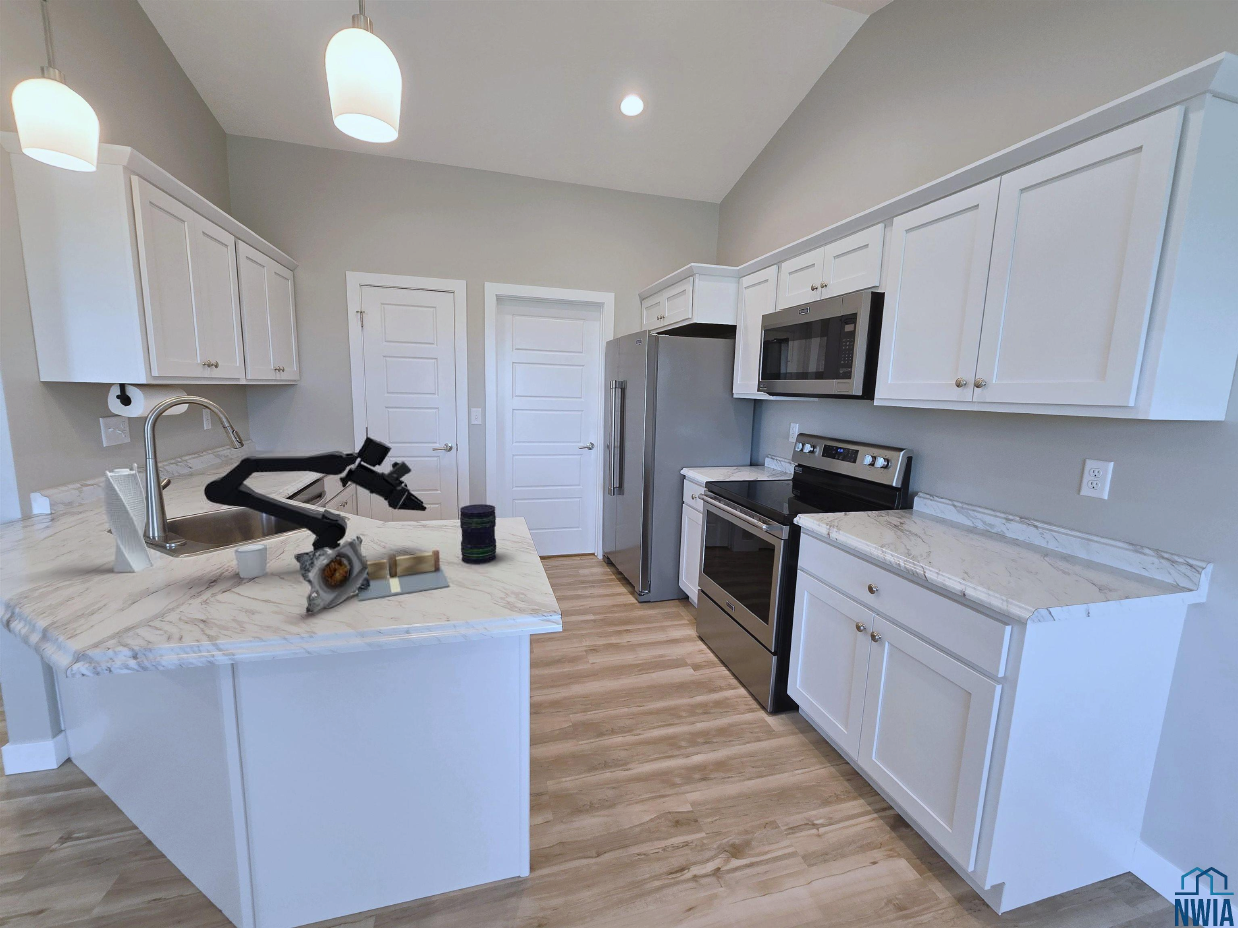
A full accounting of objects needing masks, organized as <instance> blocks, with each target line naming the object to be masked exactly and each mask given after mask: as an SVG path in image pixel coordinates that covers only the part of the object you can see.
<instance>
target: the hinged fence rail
mask: <svg viewBox="0 0 1238 928" xmlns="http://www.w3.org/2000/svg"><path fill="white" fill-rule="evenodd" d="M387 557H388V559H387V560H388V569H389V576H390V577H394V576H400V575H407V574H414V573H421V572H428V571H437V570H440V566H441V565H440V563H441V562H440V550H437V549H436V550H432V551H431V552H429V553H419V554H412V555H404V556H397V554H395V553H391V554H389V555H387Z"/></svg>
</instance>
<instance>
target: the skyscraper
mask: <svg viewBox="0 0 1238 928" xmlns="http://www.w3.org/2000/svg"><path fill="white" fill-rule="evenodd" d="M132 465H133V467H132V468H133V470H130V468H118V469H113V472H110V471H108V470H105V474H104V487H103V488H104V490H103V499H104V500H103V501H104V502H103V503H104V510H105V515H106V519H107V523H108V526H109V528H110V530H111V533H112V536H113V537H114V540H115V543H116V544H115V553H114V563H113V573H137V572H139V571H141V570H142V571H143V570H145V569H147V568H149V567H153V566H154V562H153V560H152V557H151V555H150V552H149V549H148V547H147V545H146V542H145V539H144V532H145V527H146V522H147V520H146V519H147V502H146V497H145V496H146V495H145V492H144V489H143V488H144V487H143V486H142V482H141V479H140V476H139V473H138V465H137V463H133V464H132Z"/></svg>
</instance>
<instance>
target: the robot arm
mask: <svg viewBox="0 0 1238 928" xmlns="http://www.w3.org/2000/svg"><path fill="white" fill-rule="evenodd" d="M391 450H392V447H391V446H390V445H388V444H386V443H384V442H383V441H381V440H377V439H375V438H372V437H371V436H366V437H365V439H364V441H363V444H362V445H361V447H360V449H359V450H358V451H357V452H347V453H344V452H343V451H340V450H333V451H327V452H321V453H316V454H311V455H287V456H286V455H282V456H281V455H279V456H278V455H277V456H276V455H275V456H273V455H272V456H270V455H269V456H256V455H249V456H246V457H244V458H243V459H241V460H240V461H239V462H238V463H237V464H236V466H234V467H232V468H231V470H230V471H228V472H227V473H226V474H224V475H222V476H219V477H217V478H215V479H214V480H212V481H210V482H208V483H207V484H206V485H205V487H204V490H203V493H204V496H205V499H206V500H208V501H209V502H211V503H212V504H216V505H223V506H228V507H235V508H236V507H238V508H246V509H249V510H253V511H255V512H258V513H260V514H263V515H267V516H270V517H272V518H275V519H278V520H281V521H284V522H286V523H290V524H292V525H296V526H299V527H302V528H303V529H306V530H308V531H309V532H311V534H313V535H314V539H313V541H312V544H311V546H312V547H313V548H312V551H316V550H319V549H322V548H331V549H336V548H337V547H339V546H341V545H342V544H341V542H340V541H342V540H343V539H344V538H345V536H346V533H347V529H348V522H347V521H346V519H345V518H343V517H342V516H341V513H336V512H332V511H330V510H329V509H326V508H325V509H324V510H323V512H322V513H320V512H319V513H317V512H313V511H310V510H306V509H304V508H301V507H299V506H296V505H293V504H290V503H288V502H285V501H282V500H279V499H277V498H274V497H272V496H269V495H265V494H263V493H260V492H257V491H256V490H254V489H253V488H252V487H250V486H249V485H247V484H246V483H245V482H246V481H247V480H248V479H249V478H250V477H251V476H252V475H254V473H286V472H288V473H289V472H311V473H316V474H321V475H328V476H340V475H342V474H343V473H344V472H345V471H346V470H347V468H348V467H349V469H348V470H347V471H346V473H345V474H344V475H343V476H340V477H339V478H338V479H339V481H340V483H341V487H342V488H343V489H345V488H346V487H347V485H348V484H349V483H351V484H353V485H355V486H358V487H360V488H361V489H363V490H366V491H368V493H369V494H370V495H375V496H378V497H380V498H381V499H383V500H384V501H385V502H387V506H388V507H389V508H391V509H393V510H397V511H400V510H402V511H403V510H404V511H417V512H426V510H427V508H428V507H427V506H425V505H424V503H425V502H424V501H422V499H420V498H419V497H418V496H417V495H415V494H414V493H413V492H411V490H410V488H409V487H408V484H407V482H405V480H403V479H402V478H404V477H405V476H406V475H408V474H410V473H412V471H413V470H412V469H411V467H410V466H409V465H408V464H407V463H406V461H404V460H403V461H400V462H398V461H394V462H393V463H391V468H392V469H390V470H389V471H388V472H387V473H385V472H383V471H382V472H379V471H377V470H375V469H373V468H376V467H377V466H378V467H379V466H380V467H382V464H383V463H384V461H385V459H387V457H388V455H389V453H390V452H391ZM358 459H359V461H358ZM357 461H358V462H357ZM356 462H357V463H356ZM355 464H356V465H355ZM365 464H366V465H365ZM352 465H355V467H351V466H352Z"/></svg>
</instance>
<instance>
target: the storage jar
mask: <svg viewBox="0 0 1238 928" xmlns="http://www.w3.org/2000/svg"><path fill="white" fill-rule="evenodd" d="M459 511H460V512H459V513H460V515H459V516H460V517H459V523H460V524H459V527H460V529H461V541H460V552H461V562H462V563H463V564H467V565H484V564H485V565H486V564H488V563H492V562H494V561H495V560H496V559H497V555H496V553H497V539H496V526H497V525H496V524H497V521H496V520H497V515H496V507H495V505H492V504H484V503H483V504H482V503H481V504H480V503H478V504H470V505H469V504H468V505H464V506H461V507H460V508H459Z"/></svg>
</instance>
